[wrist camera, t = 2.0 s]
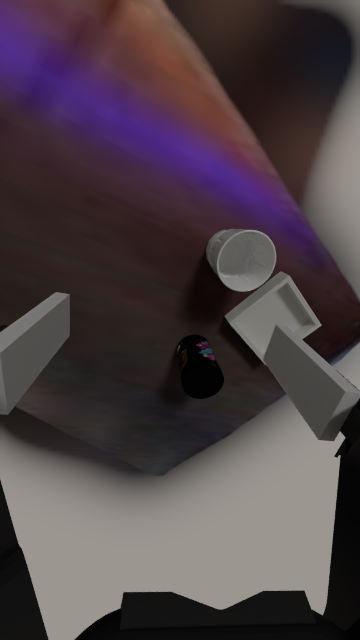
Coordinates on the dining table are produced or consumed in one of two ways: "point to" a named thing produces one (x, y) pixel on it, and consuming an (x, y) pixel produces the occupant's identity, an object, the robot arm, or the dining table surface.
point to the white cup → (241, 258)
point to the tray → (272, 313)
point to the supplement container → (198, 367)
